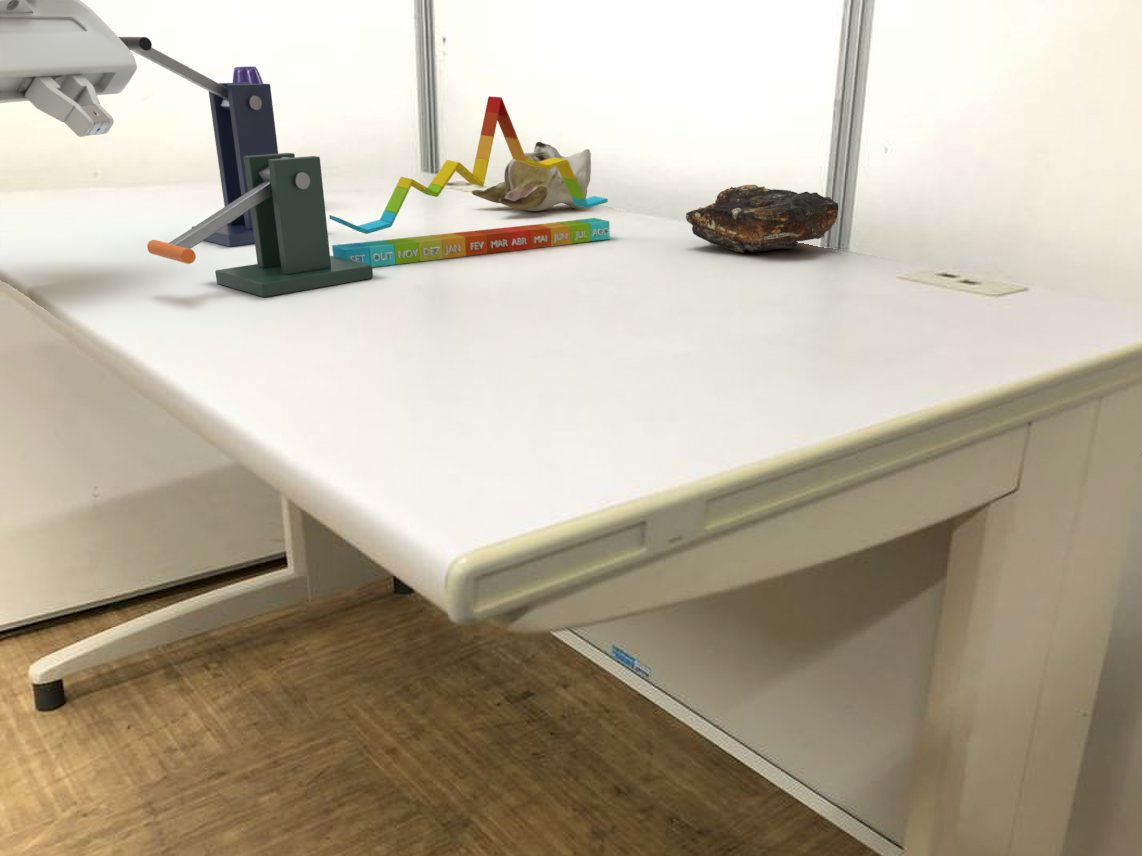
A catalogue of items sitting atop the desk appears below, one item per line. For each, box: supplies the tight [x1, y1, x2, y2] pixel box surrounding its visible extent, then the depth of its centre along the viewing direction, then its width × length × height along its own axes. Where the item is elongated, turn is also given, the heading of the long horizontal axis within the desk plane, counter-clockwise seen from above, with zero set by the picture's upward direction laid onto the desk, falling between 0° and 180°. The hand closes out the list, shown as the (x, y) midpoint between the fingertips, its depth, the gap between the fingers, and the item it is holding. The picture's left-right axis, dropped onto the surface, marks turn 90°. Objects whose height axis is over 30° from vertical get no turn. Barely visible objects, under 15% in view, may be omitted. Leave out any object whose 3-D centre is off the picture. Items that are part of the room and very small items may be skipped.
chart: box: [328, 96, 611, 268], centre depth 107 cm, size 30×3×15 cm, turn 126°
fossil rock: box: [685, 184, 839, 254], centre depth 112 cm, size 14×14×6 cm
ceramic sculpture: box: [471, 141, 592, 212], centre depth 135 cm, size 11×9×15 cm
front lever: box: [146, 157, 288, 265], centre depth 89 cm, size 14×6×2 cm, turn 138°
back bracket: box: [191, 82, 279, 248], centre depth 114 cm, size 11×8×16 cm
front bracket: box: [214, 152, 374, 298], centre depth 93 cm, size 11×8×11 cm
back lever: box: [118, 36, 230, 111], centre depth 107 cm, size 14×6×2 cm, turn 138°
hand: (98, 129), depth 85 cm, fingers closed
